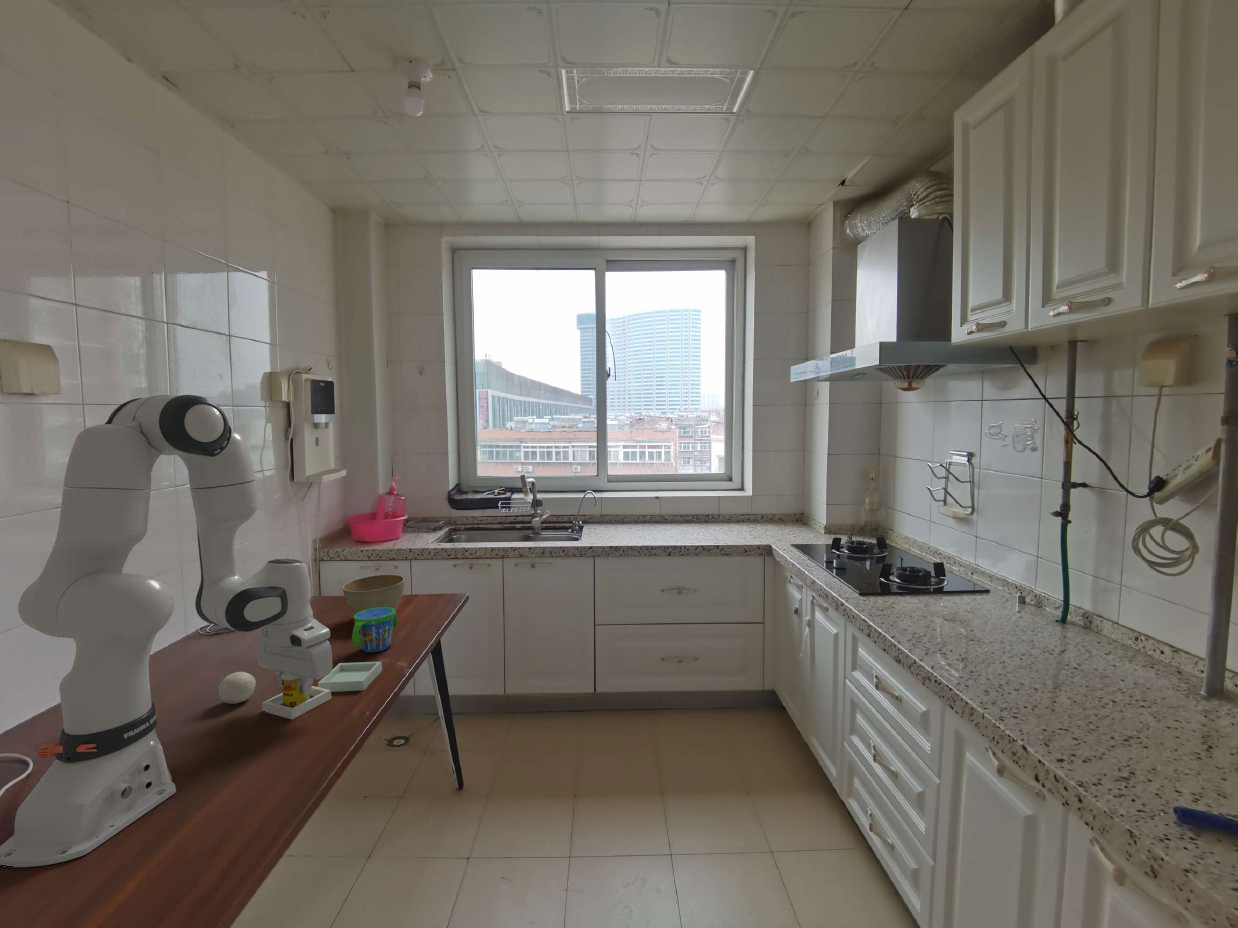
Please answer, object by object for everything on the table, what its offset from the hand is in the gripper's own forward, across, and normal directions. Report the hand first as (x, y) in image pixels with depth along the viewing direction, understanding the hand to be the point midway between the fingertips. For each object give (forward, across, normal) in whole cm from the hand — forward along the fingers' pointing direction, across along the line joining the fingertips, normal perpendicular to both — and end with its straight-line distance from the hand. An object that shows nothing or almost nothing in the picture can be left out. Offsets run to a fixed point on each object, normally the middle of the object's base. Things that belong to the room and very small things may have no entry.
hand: (296, 690), depth 126 cm
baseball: (+4, -15, -4) cm, 16 cm away
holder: (+3, 0, 0) cm, 3 cm away
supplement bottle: (+4, 0, 0) cm, 4 cm away
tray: (+3, +2, +13) cm, 14 cm away
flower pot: (+3, -28, +48) cm, 56 cm away
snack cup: (+4, -9, +30) cm, 32 cm away
